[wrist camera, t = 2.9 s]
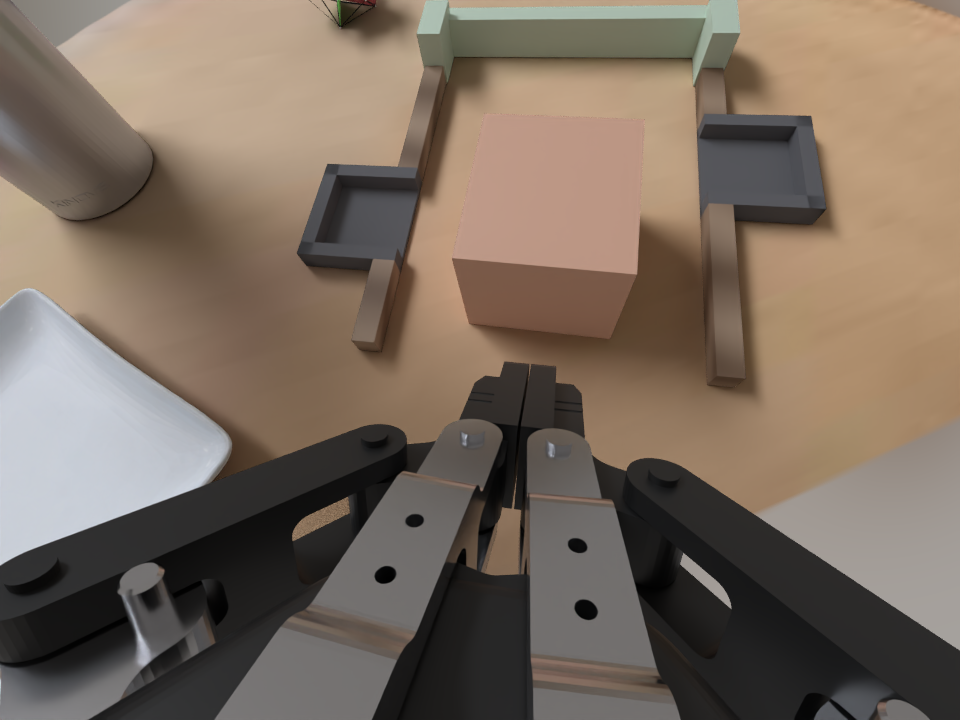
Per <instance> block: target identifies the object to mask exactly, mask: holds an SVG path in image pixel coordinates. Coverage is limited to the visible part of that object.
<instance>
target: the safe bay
mask: <svg viewBox="0 0 960 720" xmlns="http://www.w3.org/2000/svg"><path fill="white" fill-rule="evenodd" d="M739 35H740V25H739V15H738V4H737V0H709V3H708V5H676V6H586V7H496V8H449V2H448V0H433V1H426V3H425V7H424V10H423V13H422V17H421V20H420V24H419V27H418V31H417V38H418V43H419V47H420V52H421V57H422V61H423V66H424V68H425V66H443V68H444V74H445V80H446V83H448V80H449V76H450V72H451V68H452V63H453V59H454V57H605V58H692V66H693V86H696V83H697V80H698V78H699V75H700V72H701V70H702V68H723V69H724V70H725V68H726V65H727V63H728V61H729V58H730V56H731V54H732V51H733V49H734V47H735V44H736V42H737V39H738V37H739Z"/></svg>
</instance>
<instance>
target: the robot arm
mask: <svg viewBox="0 0 960 720" xmlns="http://www.w3.org/2000/svg"><path fill="white" fill-rule="evenodd" d="M152 163H153V156H152V151H151V149H150V147H149V145H148V144H147V143H146V142H145V141H144V140H143V139H142V138H141V137H140V136H139V135H138V134H137V133H136V132H135V130H134V129H133V128H132V127H131V126H130V125H129V124H128V123H127V122H126V121H125V120H124V119H123V118H122V117H121V116H120V115H119V114H118V113H117V112H116V110H115V109H114V108H113V107H112V106H111V105H110V104H109V103H108V102H107V101H106V100H105V99H104V98H103V97H102V95H101V94H100V93H99V92H98V91H97V90H96V89H95V88H94V87H93V86H92V85H91V84H90V83H89V82H88V81H87V80H86V79H85V78H84V77H83V76H82V74H81V73H80V72H79V71H78V70H77V69H76V68H75V67H74V66H73V65H72V64H71V63H70V62H69V61H68V60H67V59H66V58H65V57H64V56H63V55H62V53H61V52H60V51H59V50H58V49H57V48H56V47H55V46H54V45H53V44H52V43H51V42H50V41H49V40H48V39H47V38H46V37H45V36H44V35H43V34H42V32H41V31H40V30H39V29H38V28H37V27H36V26H35V25H34V24H33V23H32V22H31V21H30V20H29V19H28V18H27V17H26V16H25V15H24V14H23V13H22V12H21V10H20V9H19V8H18V7H17V6H16V5H15V4H14V3H13V2H12V1H11V0H0V176H1V177H3V178H4V179H5V180H7V181H8V182H10V183H11V184H13V185H14V186H16V187H17V188H18V189H20V190H21V191H23V192H24V193H26V194H27V195H29V196H30V197H32V198H33V199H34V200H36V201H37V202H39V203H40V204H42V205H43V206H45V207H46V208H48V209H49V210H50V211H52V212H53V213H55V214H56V215H58V216H59V217H62V218H66V219H70V220H84V219H91V218H95V217H98V216H102V215H104V214H106V213H108V212H111V211H113V210H115V209H116V208H118V207H120V206H121V205H123V204H124V203H126V202H127V201H128V200H129V199H131V198H132V197H133V196H134V195H135V194H136V193H137V192H138V191H139V190H140V189H141V187H142V186H143V185H144V183H145V182H146V180H147V178H148V177H149V174H150V171H151V169H152ZM528 378H529V381H528ZM516 477H517V481H516ZM515 483H516V493H515V506H514V509H519V510H521V520H520V531H519V556H518V574H517V575H498V576H495V575H488V574H485V571H486V568H487V564H488V561H489V558H490V554H491V551H492V547H493V544H494V541H495V537H496V533H497V522H498V520H499V519H500V515H501V510H502V507H504V508H511V509H512V502H513V496H514V490H515ZM346 497H348V499H349V508H350V513H349V514H347V515H345V516H343V517H341V518H339V519H337V520H335V521H333V522H331V523H329V524H327V525H325V526H323V527H321V528H319V529H317V530H315V531H313V532H311V533H309V534H307V535H305V536H303V537H301V538H299V539H297V540H295V541H292V533H293V530H294V528H295V527H296V525H297V524H298V523H299V522H300V521H301V520H302V519H303V518H304V517H306V516H308V515H310V514H312V513H314V512H316V511H318V510H320V509H322V508H325V507H327V506H329V505H331V504H333V503H335V502H337V501H339V500H342V499H344V498H346ZM683 553H684V554H686V555H687V556H688V557H689V558H690V559H692V560H693V561H694V562H695V563H696V564H698V565H699V566H700V567H701V568H702V569H703V570H705V571H706V572H707V573H708V574H709V575H711V576H712V577H713V578H714V579H716V581H718V582H719V583H720V585H721V586H722V587H723V588H724V590H725V591H726V593H727V595H728V597H729V599H730V602H731V606H732V610H731V609H730V608H729V607H728V606H727V605H726V604H724V603H723V602H722V601H721V600H720V599H719V598H718V597H716V596H715V595H714V594H713V593H712V592H711V591H710V590H708V589H707V588H706V587H705V586H704V585H703V584H702V583H700V582H699V581H698V580H697V579H696V578H695V577H694V576H693V575H691V574H690V573H689V572H688V571H687V570H686V569H684V568H683V567H682V566H681V565H680V562H681V559H682V555H683ZM0 680H1V690H0V720H960V651H959V650H958V649H956V648H955V647H953V646H952V645H950V644H949V643H947V642H946V641H944V640H943V639H941V638H940V637H938V636H937V635H935V634H934V633H932V632H931V631H929V630H928V629H926V628H925V627H923V626H921V625H920V624H919V623H917V622H916V621H914V620H913V619H911V618H910V617H908V616H907V615H905V614H903V613H902V612H901V611H899V610H897V609H896V608H895V607H893V606H891V605H890V604H888V603H887V602H885V601H884V600H882V599H881V598H879V597H878V596H876V595H875V594H873V593H872V592H870V591H869V590H867V589H866V588H864V587H863V586H861V585H860V584H858V583H857V582H855V581H854V580H852V579H851V578H849V577H848V576H846V575H845V574H843V573H841V572H840V571H839V570H837V569H836V568H834V567H832V566H831V565H830V564H828V563H827V562H825V561H823V560H822V559H821V558H819V557H818V556H816V555H815V554H813V553H811V552H810V551H808V550H807V549H805V548H804V547H802V546H801V545H799V544H798V543H796V542H795V541H793V540H792V539H790V538H788V537H787V536H786V535H784V534H783V533H781V532H780V531H778V530H777V529H775V528H774V527H772V526H771V525H769V524H768V523H766V522H765V521H763V520H762V519H760V518H759V517H757V516H756V515H754V514H753V513H751V512H750V511H748V510H747V509H745V508H744V507H742V506H741V505H739V504H738V503H736V502H735V501H733V500H731V499H730V498H728V497H727V496H725V495H724V494H722V493H721V492H719V491H718V490H716V489H715V488H713V487H712V486H710V485H709V484H707V483H706V482H704V481H703V480H701V479H700V478H698V477H697V476H695V475H694V474H692V473H691V472H689V471H688V470H686V469H685V468H683V467H681V466H679V465H677V464H675V463H672V462H669V461H666V460H661V459H654V458H644V459H639V460H636V461H634V462H632V463H631V464H630V465H629V466H628V468H627V471H624V470H621V469H618V468H615V467H612V466H609V465H607V464H605V463H603V462H601V461H599V460H598V459H596V458H595V457H594V456H593V455H592V453H591V449H590V446H589V444H588V442H587V441H586V440H585V435H584V422H583V408H582V395H581V393H580V392H579V391H578V389H577V388H576V387H575V386H574V385H571V384H561V383H556V366H546V365H535V364H531V369H530V375H529V364H525V363H514V362H504V365H503V368H502V372H501V375H500V377H492V376H484V377H483V378H481V379H480V380H478V381H477V382H475V384H474V386H473V388H472V391H471V393H470V396H469V398H468V401H467V403H466V405H465V407H464V410H463V412H462V414H461V417H460V419H459V420H458V421H455V422H453V423H451V424H449V425H447V426H446V427H445V428H444V429H443V431H442V433H441V434H440V436H439V437H438V439H437V441H434V442H429V443H418V444H407V438H406V435H405V433H404V432H403V431H402V430H400V429H399V428H397V427H394V426H391V425H383V424H375V425H368V426H364V427H360V428H358V429H355V430H352V431H349V432H347V433H344V434H341V435H339V436H336V437H333V438H331V439H328V440H325V441H322V442H320V443H317V444H314V445H312V446H309V447H306V448H304V449H301V450H298V451H295V452H293V453H290V454H287V455H285V456H282V457H279V458H277V459H274V460H271V461H269V462H266V463H263V464H260V465H258V466H255V467H252V468H250V469H247V470H244V471H242V472H239V473H236V474H233V475H231V476H228V477H225V478H223V479H220V480H217V481H215V482H212V483H209V484H206V485H204V486H201V487H198V488H196V489H193V490H190V491H188V492H185V493H182V494H179V495H177V496H174V497H171V498H169V499H166V500H163V501H161V502H158V503H155V504H152V505H150V506H147V507H144V508H142V509H139V510H136V511H134V512H131V513H128V514H126V515H123V516H120V517H117V518H115V519H112V520H109V521H107V522H104V523H101V524H99V525H96V526H93V527H90V528H88V529H85V530H82V531H80V532H77V533H74V534H72V535H69V536H66V537H63V538H61V539H58V540H55V541H53V542H50V543H47V544H45V545H42V546H39V547H36V548H34V549H31V550H29V551H26V552H24V553H22V554H20V555H18V556H16V557H14V558H12V559H10V560H8V561H7V562H5V563H3V564H2V565H0Z"/></svg>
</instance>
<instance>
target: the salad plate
mask: <svg viewBox="0 0 960 720" xmlns="http://www.w3.org/2000/svg"><path fill="white" fill-rule="evenodd" d="M231 451H232V440H231V438H230V437H229V435H228V434H227V432H226V431H225V430H224V429H223V428H222V427H220V426H219V425H218V424H217V423H215V422H214V421H213V420H212V419H210V418H209V417H208V416H206V415H205V414H204V413H202V412H201V411H200V410H198V409H197V408H196V407H194V406H192V405H191V404H189V403H188V402H186V401H185V400H183V399H182V398H181V397H179V396H177V395H176V394H174V393H173V392H171V391H170V390H168V389H167V388H165V387H164V386H162V385H161V384H159V383H158V382H156V381H155V380H154V379H152V378H151V377H149V376H148V375H146V374H145V373H143V372H142V371H141V370H139V369H138V368H136V367H135V366H134V365H132V364H131V363H129V362H128V361H126V360H125V359H124V358H122V357H121V356H120V355H118V354H117V353H116V352H114V351H113V350H112V349H111V348H109V347H108V346H107V345H105V344H104V343H103V342H102V341H100V340H99V339H98V338H97V337H95V336H94V335H93V334H92V333H90V332H89V331H88V330H87V329H86V328H84V327H83V326H82V325H81V324H80V323H78V322H77V321H76V320H75V319H74V318H73V317H72V316H71V315H69V314H68V313H67V312H66V311H65V310H64V309H62V308H61V307H60V306H59V305H58V304H57V303H55V302H54V301H53V300H51V299H50V298H49V297H48V296H46V295H45V294H43V293H42V292H40V291H38V290H35V289H32V288H27V289H23V290H21V291H19V292H17V293H16V294H15V295H14V296H12V297H11V298H10V299H9V300H7V301H6V302H5V303H4V304H3V305H2V306H0V565H2V564H3V563H5V562H7V561H8V560H10V559H12V558H14V557H16V556H18V555H20V554H22V553H24V552H26V551H29V550H31V549H34V548H36V547H39V546H42V545H45V544H47V543H50V542H53V541H55V540H58V539H61V538H63V537H66V536H69V535H72V534H74V533H77V532H80V531H82V530H85V529H88V528H90V527H93V526H96V525H99V524H101V523H104V522H107V521H109V520H112V519H115V518H117V517H120V516H123V515H126V514H128V513H131V512H134V511H136V510H139V509H142V508H144V507H147V506H150V505H152V504H155V503H158V502H161V501H163V500H166V499H169V498H171V497H174V496H177V495H179V494H182V493H185V492H188V491H190V490H193V489H196V488H198V487H201V486H204V485H206V484H209V483H211V482H212V481H213V480H214V479H215V477H216V476H217V475H218V474H219V473H220V471H221V470H222V469H223V467H224V466H225V465H226V463H227V461H228V459H229V457H230V455H231ZM0 690H1V680H0Z"/></svg>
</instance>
